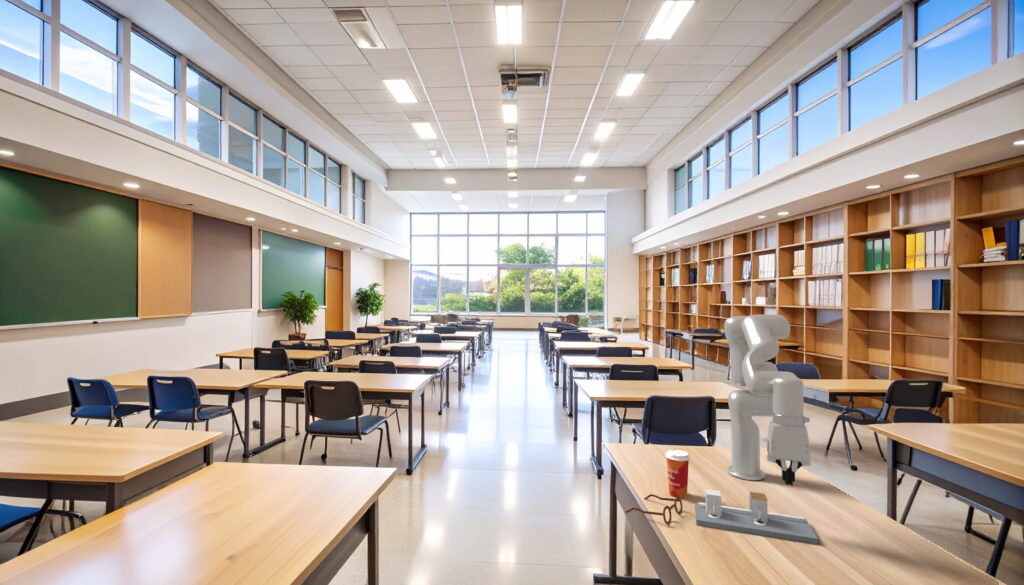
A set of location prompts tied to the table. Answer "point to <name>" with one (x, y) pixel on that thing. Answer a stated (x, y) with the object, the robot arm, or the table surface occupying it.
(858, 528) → the table surface
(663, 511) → the glasses
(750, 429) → the robot arm
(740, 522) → the divider plate
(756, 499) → the block
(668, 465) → the paper cup
